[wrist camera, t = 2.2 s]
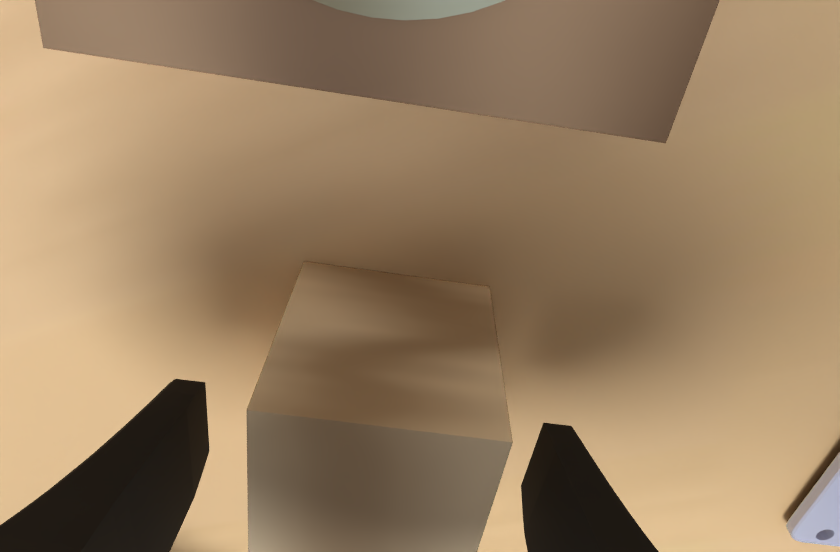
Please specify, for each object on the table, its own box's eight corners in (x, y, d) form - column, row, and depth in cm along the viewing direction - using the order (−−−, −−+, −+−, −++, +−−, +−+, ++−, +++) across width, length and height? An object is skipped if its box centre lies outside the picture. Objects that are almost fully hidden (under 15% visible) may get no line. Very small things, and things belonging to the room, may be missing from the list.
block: (489, 285, 14) (512, 442, 10) (456, 417, 17) (463, 591, 12) (304, 260, 14) (247, 409, 10) (297, 398, 16) (248, 568, 12)
